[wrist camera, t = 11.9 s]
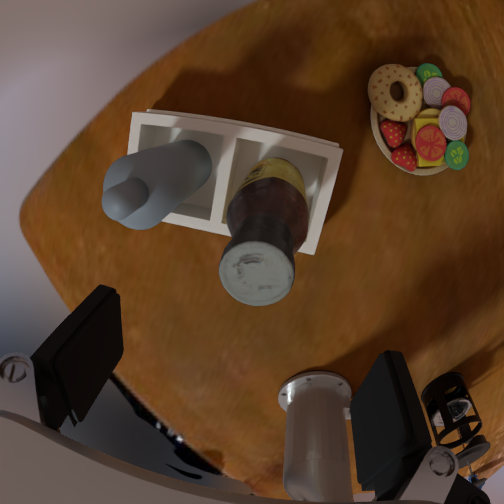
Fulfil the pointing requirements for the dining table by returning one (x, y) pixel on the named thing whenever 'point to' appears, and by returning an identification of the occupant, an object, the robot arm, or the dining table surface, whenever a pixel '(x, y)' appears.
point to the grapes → (477, 480)
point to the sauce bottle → (265, 233)
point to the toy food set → (418, 118)
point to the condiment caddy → (209, 170)
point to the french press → (455, 419)
